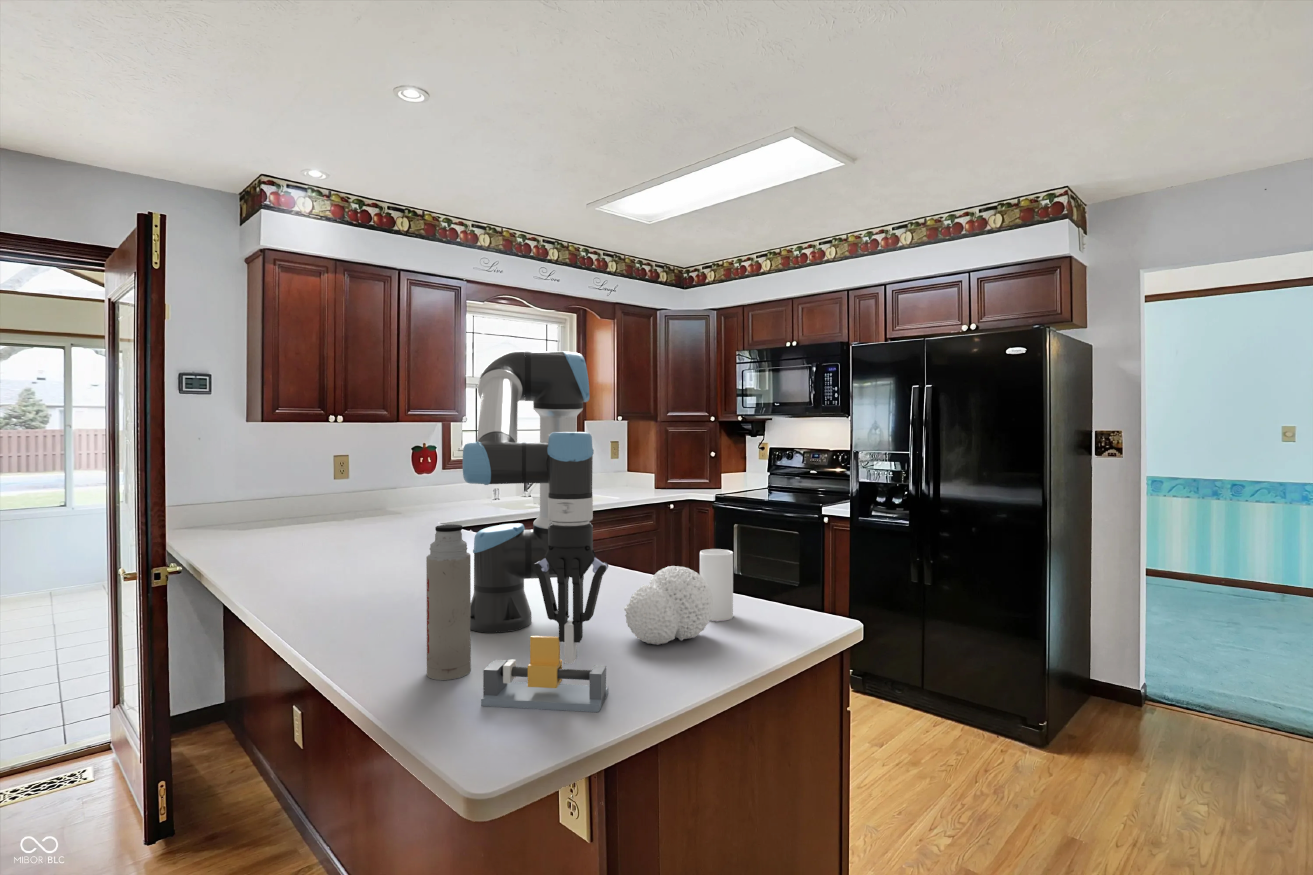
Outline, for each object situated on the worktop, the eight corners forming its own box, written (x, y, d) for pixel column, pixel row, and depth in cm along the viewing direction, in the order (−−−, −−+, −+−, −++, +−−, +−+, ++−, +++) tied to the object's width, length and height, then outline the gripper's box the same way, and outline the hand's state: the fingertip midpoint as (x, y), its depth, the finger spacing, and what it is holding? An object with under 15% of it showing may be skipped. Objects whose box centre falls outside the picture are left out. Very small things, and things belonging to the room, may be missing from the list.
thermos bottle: (421, 680, 122) (421, 528, 122) (432, 665, 130) (432, 522, 130) (466, 679, 123) (465, 528, 123) (474, 664, 131) (474, 522, 131)
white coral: (682, 584, 162) (679, 539, 151) (732, 631, 151) (732, 587, 140) (615, 631, 153) (607, 587, 143) (663, 685, 142) (658, 641, 132)
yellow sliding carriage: (527, 686, 113) (527, 639, 112) (534, 678, 116) (534, 633, 116) (556, 688, 112) (556, 640, 112) (562, 680, 116) (562, 634, 115)
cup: (731, 621, 160) (731, 555, 160) (697, 619, 162) (697, 554, 162) (734, 612, 168) (734, 549, 168) (701, 611, 170) (702, 548, 170)
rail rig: (480, 705, 111) (479, 669, 111) (497, 687, 119) (497, 653, 119) (598, 712, 109) (598, 675, 109) (608, 692, 117) (608, 658, 117)
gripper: (526, 524, 110) (526, 666, 111) (603, 526, 109) (604, 670, 109) (539, 518, 118) (539, 651, 118) (612, 519, 116) (612, 654, 117)
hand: (570, 660), depth 114 cm, fingers closed
